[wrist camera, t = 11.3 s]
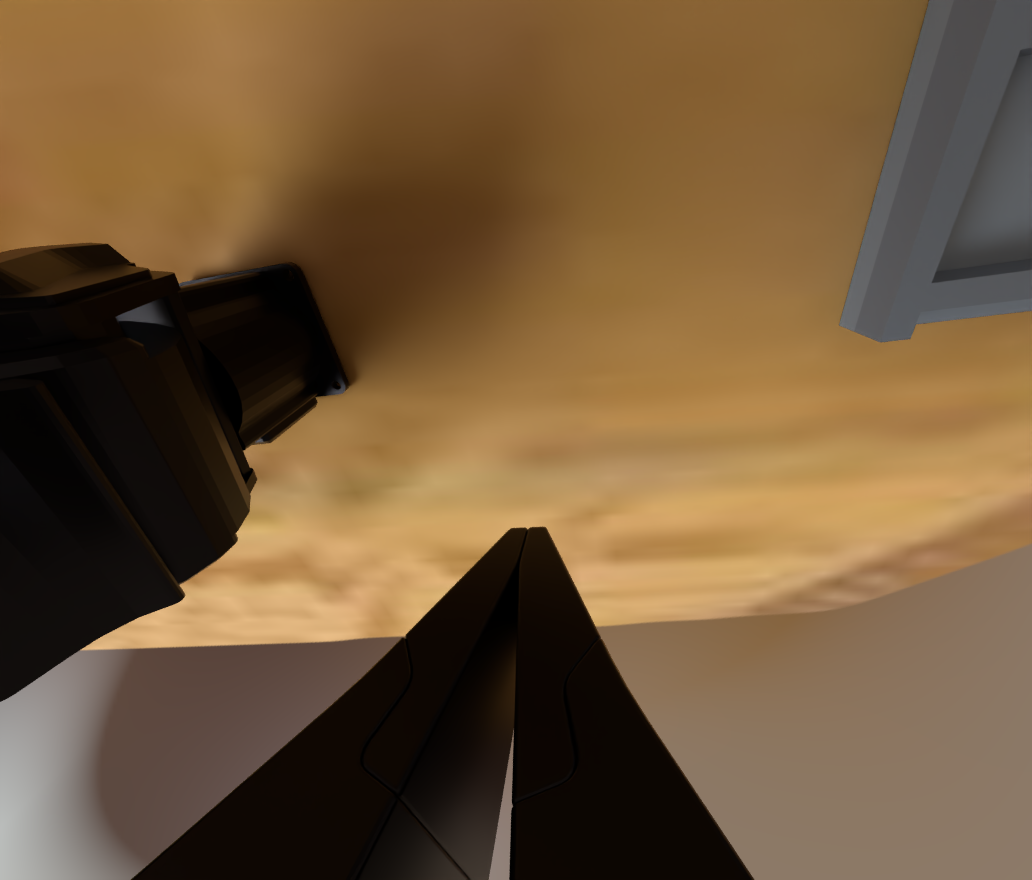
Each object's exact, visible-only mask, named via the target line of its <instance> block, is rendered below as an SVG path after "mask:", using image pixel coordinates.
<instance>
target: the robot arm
mask: <svg viewBox="0 0 1032 880" xmlns="http://www.w3.org/2000/svg"><path fill="white" fill-rule="evenodd" d="M288 270H289V271H291V272H292V274H293V277H294V278H293V279H291V278H290V277H289V275H288ZM335 381H337V382H339V383H340V385H341V387H339V386H338V385H337V384H336V382H335ZM348 387H349V382H348V380H347V377H346V375H345V372H344V370H343V368H342V365H341V363H340V360H339V358H338V356H337V353H336V351H335V348H334V346H333V344H332V341H331V339H330V336H329V334H328V332H327V329H326V327H325V325H324V322H323V320H322V317H321V315H320V313H319V310H318V308H317V305H316V303H315V301H314V298H313V296H312V293H311V291H310V289H309V286H308V284H307V281H306V279H305V277H304V274H303V272H302V270H301V269H300V268H299V267H298V266H297V265H296V264H294V263H283V264H278V265H272V266H267V267H262V268H256V269H251V270H246V271H240V272H235V273H230V274H224V275H219V276H214V277H208V278H203V279H198V280H193V281H187V282H182V283H180V284H179V283H178V281H177V278H176V276H175V273H173V272H162V271H150V270H149V269H148V268H142V267H136V265H135V263H130V262H129V261H128V260H127V259H126V258H124V257H123V256H122V255H121V254H119V253H118V252H117V251H116V250H114V249H113V248H112V247H111V246H110V245H108V244H100V243H80V244H65V245H51V246H39V247H29V248H21V249H15V250H10V251H5V252H1V253H0V702H1V701H3V700H5V699H7V698H9V697H10V696H12V695H14V694H16V693H17V692H19V691H20V690H21V689H23V688H24V687H26V686H27V685H29V684H30V683H32V682H33V681H35V680H36V679H38V678H39V677H40V676H42V675H44V674H45V673H46V672H48V671H49V670H51V669H52V668H54V667H55V666H57V665H58V664H60V663H61V662H63V661H64V660H66V659H67V658H68V657H70V656H71V655H73V654H74V653H76V652H78V651H79V650H81V649H82V648H84V647H86V646H87V645H89V644H90V643H92V642H93V641H95V640H97V639H98V638H100V637H102V636H103V635H105V634H107V633H109V632H111V631H113V630H115V629H117V628H119V627H121V626H123V625H125V624H127V623H129V622H131V621H133V620H135V619H137V618H139V617H141V616H144V615H147V614H149V613H152V612H155V611H157V610H160V609H163V608H166V607H168V606H171V605H174V604H176V603H178V602H180V601H181V600H182V599H183V598H184V597H185V593H184V591H183V590H182V588H181V587H180V584H182V583H184V582H186V581H188V580H189V579H191V578H192V577H194V576H195V575H197V574H198V573H200V572H201V571H203V570H204V569H206V568H207V567H209V566H210V565H211V564H213V563H214V562H216V561H217V560H218V559H220V558H221V557H222V556H223V555H224V554H225V553H226V552H227V551H228V550H229V549H230V548H231V547H232V546H234V545H235V543H236V542H237V540H238V537H237V535H236V532H237V531H238V530H239V528H240V526H241V525H242V523H243V521H244V520H245V518H246V516H247V515H248V513H249V511H250V497H251V496H250V493H251V491H252V489H253V487H254V485H255V483H256V481H257V477H256V475H255V472H254V470H253V469H252V468H250V467H249V465H248V462H247V460H246V457H245V455H244V452H243V450H245V449H247V448H248V447H249V446H251V445H255V444H266V443H271V442H273V441H274V440H275V439H276V438H278V437H279V436H280V435H281V434H282V433H284V432H285V431H286V430H287V429H289V428H290V427H291V426H292V425H294V424H295V423H296V422H297V421H299V420H300V419H301V418H302V417H304V416H305V415H306V414H307V413H309V412H310V411H311V410H312V409H313V408H315V407H316V405H317V403H318V402H317V400H316V398H315V397H319V396H327V395H336V394H342V393H344V392H345V391H346V390H347V389H348ZM405 637H406V639H405V638H401V639H400V640H399V641H398V642H397V643H396V644H395V645H394V646H393V647H392V648H391V649H390V650H389V651H388V652H387V653H386V654H385V655H384V656H383V657H382V658H381V659H380V660H379V661H378V662H377V663H376V664H375V665H374V666H373V667H372V668H371V669H370V670H369V671H368V672H367V673H366V674H365V675H364V676H363V677H362V678H361V679H360V680H358V681H357V682H356V683H355V684H354V685H353V686H352V687H351V688H349V689H348V690H347V691H346V692H345V693H344V694H343V695H342V696H341V697H339V698H338V699H337V700H336V701H335V702H334V703H333V704H332V705H331V706H330V707H328V708H327V709H326V710H325V711H324V712H323V713H321V714H320V715H319V716H318V717H317V718H316V719H315V720H313V721H312V722H311V723H310V724H309V725H308V726H307V727H305V728H304V729H303V730H302V731H301V732H300V733H298V734H297V735H296V736H295V737H294V738H293V739H292V740H290V741H289V742H288V743H287V744H286V745H285V746H284V747H282V748H281V749H280V750H279V751H278V752H277V753H276V754H274V755H273V756H272V757H271V758H270V759H269V760H267V762H265V763H264V764H263V765H262V766H261V767H259V768H258V769H257V770H256V771H255V772H254V773H253V774H251V775H250V776H249V777H248V778H247V779H246V780H245V781H243V783H241V784H240V785H239V786H238V787H237V788H235V789H234V790H233V791H232V792H231V793H230V794H228V795H227V796H226V797H225V798H224V799H223V800H222V801H220V802H219V803H218V804H217V805H216V806H215V807H214V808H212V809H211V810H210V811H209V812H208V813H207V814H205V815H204V816H203V817H202V818H201V819H200V820H199V821H198V822H196V823H195V824H194V825H193V826H192V827H191V828H190V829H188V830H187V831H186V832H185V833H184V834H183V835H181V836H180V837H179V838H178V839H177V840H176V841H174V842H173V843H172V844H171V845H170V846H169V847H168V848H167V849H165V850H164V851H163V852H162V853H161V854H160V855H159V856H157V857H156V858H155V859H154V860H153V861H152V862H150V863H149V864H148V865H147V866H146V867H145V868H143V869H142V870H141V871H140V872H139V873H138V874H137V875H136V876H134V877H133V878H132V879H131V880H488V879H489V874H490V868H491V862H492V856H493V850H494V844H495V838H496V832H497V826H498V820H499V814H500V807H501V802H502V796H503V789H504V784H505V778H506V772H507V766H508V760H509V754H510V748H511V742H512V736H513V730H514V748H513V781H512V783H513V784H512V804H513V808H512V811H511V842H510V877H509V879H510V880H754V878H753V877H752V875H751V874H750V872H749V871H748V870H747V868H746V867H745V865H744V864H743V862H742V861H741V859H740V858H739V856H738V855H737V853H736V851H735V850H734V848H733V847H732V845H731V844H730V842H729V841H728V839H727V838H726V836H725V835H724V833H723V832H722V830H721V829H720V827H719V826H718V824H717V823H716V822H715V820H714V818H713V817H712V815H711V814H710V812H709V811H708V809H707V808H706V806H705V805H704V804H703V802H702V800H701V799H700V798H699V796H698V794H697V793H696V792H695V790H694V788H693V787H692V785H691V784H690V782H689V781H688V779H687V778H686V776H685V775H684V773H683V772H682V770H681V769H680V767H679V766H678V764H677V763H676V761H675V760H674V758H673V757H672V755H671V754H670V752H669V751H668V749H667V748H666V746H665V745H664V743H663V742H662V740H661V739H660V737H659V736H658V734H657V733H656V731H655V730H654V728H653V727H652V725H651V724H650V722H649V721H648V719H647V717H646V716H645V714H644V713H643V711H642V709H641V708H640V706H639V705H638V703H637V701H636V700H635V698H634V697H633V695H632V693H631V692H630V690H629V689H628V687H627V685H626V683H625V682H624V680H623V678H622V676H621V675H620V672H619V670H618V669H617V667H616V665H615V663H614V661H613V659H612V658H611V656H610V654H609V652H608V650H607V648H606V645H605V643H604V642H603V640H602V639H601V637H600V635H599V633H598V631H597V629H596V627H595V624H594V622H593V620H592V618H591V616H590V614H589V612H588V610H587V608H586V606H585V604H584V602H583V600H582V598H581V596H580V594H579V592H578V590H577V588H576V586H575V584H574V582H573V580H572V578H571V576H570V574H569V572H568V570H567V568H566V566H565V564H564V562H563V560H562V558H561V556H560V554H559V552H558V550H557V548H556V546H555V544H554V542H553V540H552V538H551V536H550V534H549V532H548V530H547V528H546V527H531V528H529V529H527V528H511V529H510V530H508V531H507V532H506V533H505V534H504V535H503V536H502V537H501V538H500V539H499V540H498V541H497V542H496V543H495V544H494V545H493V546H492V547H491V549H490V550H489V551H488V552H487V553H486V554H485V555H484V556H483V557H482V558H481V559H480V560H479V561H478V562H477V563H476V564H475V565H474V566H473V567H472V568H471V569H470V570H469V571H468V572H467V573H466V574H465V575H464V576H463V577H462V578H461V579H460V580H459V581H458V582H457V583H456V584H455V585H454V586H453V587H452V588H451V589H450V590H449V591H448V592H447V593H446V594H445V595H444V596H443V597H442V598H441V599H440V600H439V601H438V602H437V603H436V604H435V605H434V606H433V607H432V609H431V610H430V611H429V612H428V613H427V614H426V615H425V616H424V617H423V618H422V619H421V620H420V621H419V622H418V623H417V624H416V625H415V626H414V627H413V628H412V629H411V630H410V631H409V632H408V633H407V634H406V636H405Z"/></svg>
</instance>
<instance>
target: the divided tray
mask: <svg viewBox="0 0 1032 880" xmlns="http://www.w3.org/2000/svg"><path fill="white" fill-rule="evenodd" d="M1024 311H1032V0H929V4H928V7H927V11H926V14H925V18H924V22H923V25H922V29H921V32H920V36H919V40H918V43H917V47H916V50H915V54H914V57H913V61H912V65H911V68H910V72H909V75H908V79H907V83H906V86H905V90H904V93H903V97H902V101H901V104H900V108H899V111H898V115H897V119H896V122H895V126H894V129H893V133H892V137H891V140H890V144H889V147H888V151H887V155H886V158H885V162H884V165H883V169H882V173H881V176H880V180H879V183H878V187H877V191H876V194H875V198H874V201H873V205H872V209H871V212H870V216H869V219H868V223H867V227H866V230H865V234H864V237H863V241H862V245H861V248H860V252H859V255H858V259H857V263H856V266H855V270H854V273H853V277H852V281H851V284H850V288H849V291H848V295H847V299H846V302H845V306H844V309H843V313H842V317H841V320H840V324H839V326H842V327H844V328H847V329H849V330H852V331H854V332H856V333H859V334H861V335H864V336H866V337H869V338H871V339H873V340H876V341H878V342H888V341H897V340H905V339H910V338H911V336H912V333H913V331H914V328H915V325H916V324H923V323H931V322H940V321H948V320H957V319H965V318H974V317H982V316H991V315H999V314H1007V313H1016V312H1024Z"/></svg>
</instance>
